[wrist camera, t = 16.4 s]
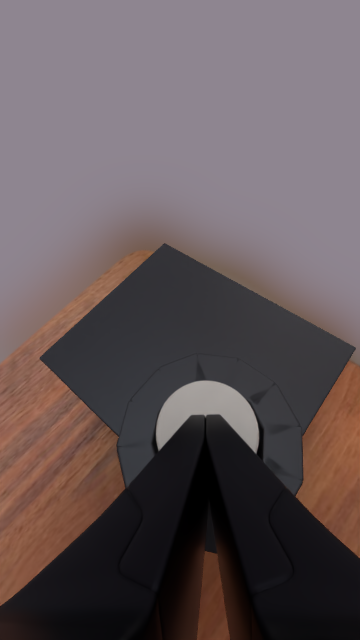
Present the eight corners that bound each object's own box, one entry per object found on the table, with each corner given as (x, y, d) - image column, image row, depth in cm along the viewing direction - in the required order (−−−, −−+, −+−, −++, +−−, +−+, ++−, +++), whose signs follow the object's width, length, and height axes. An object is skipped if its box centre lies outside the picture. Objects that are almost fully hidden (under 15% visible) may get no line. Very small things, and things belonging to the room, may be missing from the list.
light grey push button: (270, 432, 10) (279, 421, 8) (217, 513, 9) (217, 516, 7) (200, 380, 11) (197, 362, 10) (146, 446, 10) (134, 437, 9)
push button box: (312, 405, 19) (388, 332, 11) (222, 551, 16) (229, 611, 7) (180, 317, 24) (159, 217, 15) (88, 415, 21) (-3, 357, 12)
